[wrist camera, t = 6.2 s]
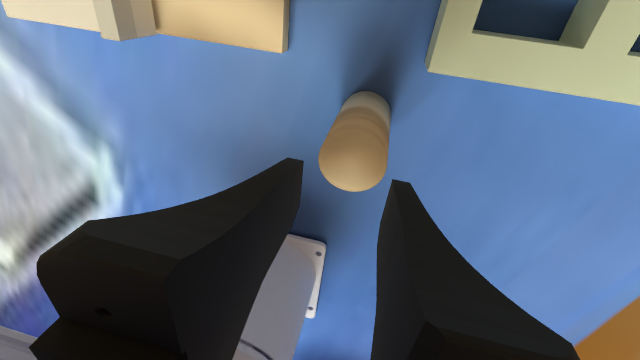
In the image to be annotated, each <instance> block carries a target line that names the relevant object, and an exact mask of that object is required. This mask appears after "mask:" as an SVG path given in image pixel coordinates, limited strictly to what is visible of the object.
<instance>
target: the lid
mask: <svg viewBox="0 0 640 360" xmlns="http://www.w3.org/2000/svg"><path fill="white" fill-rule="evenodd" d="M1 1H2V4H3V6H4V9H5V11H6V14H7V16H8V17H13V18H19V19H25V20H31V21H37V22H43V23H49V24H55V25H61V26H67V27H74V28H80V29H86V30H92V31H98V32H100V33H101V37H102V38H104V39H110V40H116V41H124V40H129V39H135V38H141V37H146V36H152V35H157V34H156V28H155V22H154V15H153V9H152V3H151V0H1Z"/></svg>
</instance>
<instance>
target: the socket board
mask: <svg viewBox="0 0 640 360" xmlns="http://www.w3.org/2000/svg"><path fill="white" fill-rule="evenodd" d="M482 1H483V0H442V1H441V4H440V8H439V12H438V15H437V19H436V22H435V26H434V30H433V33H432V37H431V40H430V44H429V48H428V51H427V55H426V58H425V65H426V68H427V71H428V72H432V73H438V74H445V75H451V76H457V77H463V78H470V79H476V80H482V81H489V82H495V83H501V84H507V85H514V86H520V87H526V88H533V89H539V90H545V91H552V92H558V93H564V94H570V95H577V96H583V97H589V98H596V99H602V100H608V101H614V102H621V103H627V104H633V105H640V52H633V51H630V49H631V47H632V46H633V44H634V42H635V41H636V39H637V37H638V36H639V34H640V0H578V2H577V4H576V6H575V8H574V10H573V12H572V14H571V16H570V18H569V20H568V22H567V24H566V26H565V28H564V31H563V33H562V35H561V37H560V39H559V41H554V40H546V39H539V38H532V37H525V36H518V35H510V34H503V33H496V32H489V31H482V30H474V29H473V27H474V24H475V21H476V18H477V16H478V13H479V10H480V7H481V4H482Z"/></svg>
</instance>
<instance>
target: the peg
mask: <svg viewBox="0 0 640 360" xmlns="http://www.w3.org/2000/svg"><path fill="white" fill-rule="evenodd" d="M390 122H391V111H390V107H389V105H388V103H387V102H386V100H385V99H384V98H383V97H381V96H380V95H378V94H377V93H374V92H370V91H361V92H357V93H355V94H353V95H351V96H350V97H349V98H348V99H347V100H346V101H345V102H344V104H343V106H342V108H341V110H340V111H339V113H338V115H337V117H336V119H335V121H334V123H333V125H332V127H331V129H330V131H329V133H328V135H327V137H326V139H325V141H324V143H323V145H322V147H321V149H320V152H319V158H318V161H319V167H320V170H321V172H322V174H323V175H324V177H325V178H326V179H327V180H328V181H329V182H330V183H331V184H332V185H334V186H336V187H337V188H340V189H342V190H346V191H352V192H357V191H364V190H367V189H370V188H372V187H373V186H375V185H376V184H378V183H379V182H380V181H381V179H382V178H383V176H384V174H385V172H386V168H387V159H388V147H389V134H390Z"/></svg>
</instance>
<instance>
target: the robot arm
mask: <svg viewBox="0 0 640 360" xmlns="http://www.w3.org/2000/svg"><path fill="white" fill-rule="evenodd" d="M303 162H304V161H302V160H297V159H292V158H286V159H284V160H282V161H281V162H279V163H277V164H275V165H274V166H272V167H270V168H268V169H267V170H265V171H263V172H261V173H259V174H258V175H256V176H254V177H252V178H250V179H248V180H246V181H244V182H242V183H239V184H237V185H235V186H233V187H231V188H229V189H226V190H224V191H222V192H219V193H216V194H214V195H211V196H208V197H205V198H202V199H199V200H196V201H192V202H188V203H185V204H181V205H178V206H174V207H170V208H166V209H161V210H157V211H152V212H146V213H141V214H135V215H129V216H122V217H114V218H106V219H99V220H89V221H87V222H85V223H84V224H83V225H81V226H80V227H79V228H77V229H76V230H75V231H73V232H72V233H71V234H69V235H68V236H66V237H65V238H64V239H62V240H61V241H60V242H58V243H57V244H56V245H54V246H53V247H51V248H50V249H49V250H47V251H46V252H45V253H43V254H42V255H41V256H40V257H39V259H38V261H37V276H38V278H39V281H40V283H41V285H42V287H43V288H44V290H45V292H46V294H47V295H48V297H49V299H50V301H51V302H52V304H53V306H54V307H55V309H56V311H57V313H58V314H59V316H60V318H59V319H57V320H56V321H55V322H54V323H53V324H52V325H51V326H50V327H49V328H48V329H47V330H46V331H45V332H44V333H43V334H42V335H41V336H40V337H39V338H37V337H33V336H30V335H27V334H24V333H21V332H18V331H15V330H11V329H8V328H5V327H2V326H0V360H292V359H293V356H294V352H295V349H296V346H297V342H298V339H299V335H300V332H301V329H302V325H303V322H304V318H305V317H308V318H313V317H315V314H316V308H317V302H318V296H319V290H320V283H321V277H322V271H323V265H324V259H325V253H326V245H325V244H324V243H323V242H320V241H316V240H312V239H308V238H304V237H299V236H295V235H291V234H288V233H289V231H290V229H291V227H292V224H293V222H294V219H295V216H296V214H297V211H298V208H299V205H300V195H301V184H302V173H303ZM317 251H319V252H321V253H319V252H317ZM371 360H580V359H579V357H578V355H577V353H576V351H575V349H574V347H573V346H572V344H571V343H570V342H568V341H567V340H565V339H564V338H563V337H561V336H560V335H558V334H557V333H555V332H554V331H552V330H551V329H550V328H548V327H547V326H545V325H544V324H542V323H541V322H539V321H538V320H537V319H535V318H534V317H532V316H531V315H529V314H528V313H527V312H525V311H524V310H523V309H521V308H520V307H519V306H518V305H516V304H515V303H514V302H513V301H511V300H510V299H509V298H507V297H506V296H505V295H504V294H502V293H501V292H500V291H499V290H498V289H497V288H495V287H494V286H493V285H492V284H491V283H490V282H488V281H487V280H486V279H485V278H484V277H483V276H482V275H481V274H480V273H479V272H478V271H476V270H475V269H474V268H473V267H472V266H471V265H470V264H469V263H468V262H467V261H466V260H465V259H464V258H463V257H462V255H461V254H460V253H459V252H458V251H457V250H456V249H455V248H454V247H453V246H452V245H451V243H450V242H449V241H448V240H447V239H446V237H445V236H444V235H443V233H442V232H441V231H440V230H439V228H438V227H437V226H436V224H435V223H434V221H433V220H432V218H431V217H430V215H429V214H428V212H427V211H426V209H425V208H424V206H423V204H422V203H421V201H420V199H419V198H418V196H417V194H416V192H415V191H414V189H413V187H412V186H411V184H410V183H408V182H403V181H399V180H394V179H392V183H391V186H390V190H389V194H388V197H387V201H386V204H385V208H384V212H383V215H382V219H381V222H380V229H379V236H378V243H377V302H376V317H375V326H374V335H373V343H372V352H371Z"/></svg>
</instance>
